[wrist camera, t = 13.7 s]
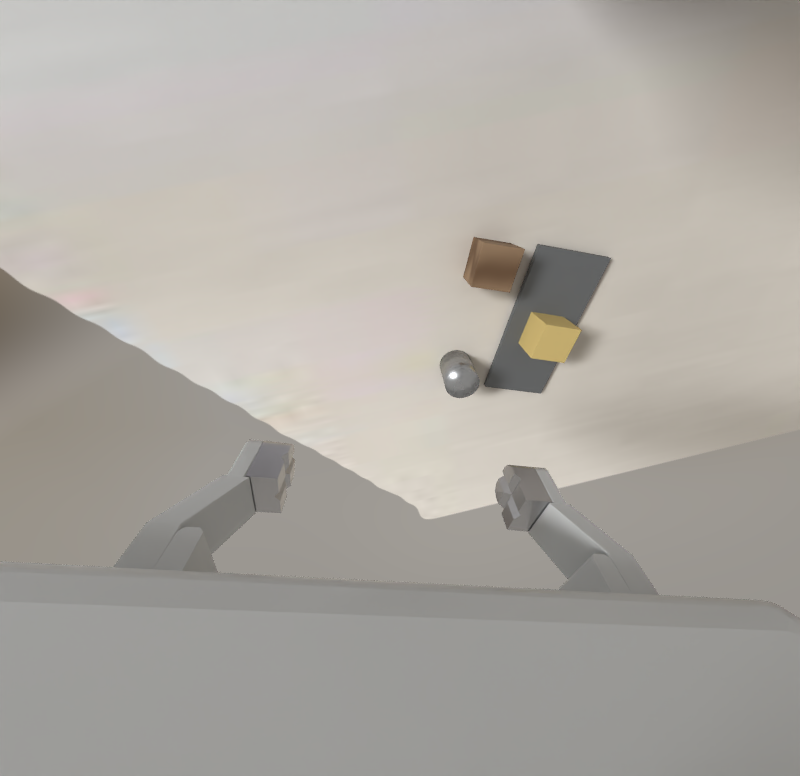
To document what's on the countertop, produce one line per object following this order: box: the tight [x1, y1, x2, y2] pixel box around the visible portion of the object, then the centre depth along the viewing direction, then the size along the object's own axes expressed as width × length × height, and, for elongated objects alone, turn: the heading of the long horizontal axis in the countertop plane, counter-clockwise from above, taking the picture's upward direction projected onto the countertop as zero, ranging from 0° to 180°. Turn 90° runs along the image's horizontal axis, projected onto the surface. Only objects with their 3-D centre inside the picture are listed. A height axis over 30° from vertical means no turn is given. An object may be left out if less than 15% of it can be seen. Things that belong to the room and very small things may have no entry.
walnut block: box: [463, 237, 525, 292], centre depth 37 cm, size 5×5×5 cm
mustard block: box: [519, 312, 581, 363], centre depth 42 cm, size 5×5×5 cm
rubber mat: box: [484, 244, 611, 393], centre depth 44 cm, size 22×10×1 cm, turn 171°
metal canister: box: [440, 350, 479, 398], centre depth 46 cm, size 5×5×6 cm
